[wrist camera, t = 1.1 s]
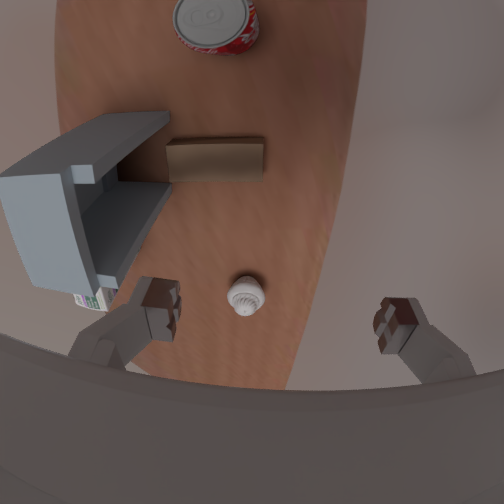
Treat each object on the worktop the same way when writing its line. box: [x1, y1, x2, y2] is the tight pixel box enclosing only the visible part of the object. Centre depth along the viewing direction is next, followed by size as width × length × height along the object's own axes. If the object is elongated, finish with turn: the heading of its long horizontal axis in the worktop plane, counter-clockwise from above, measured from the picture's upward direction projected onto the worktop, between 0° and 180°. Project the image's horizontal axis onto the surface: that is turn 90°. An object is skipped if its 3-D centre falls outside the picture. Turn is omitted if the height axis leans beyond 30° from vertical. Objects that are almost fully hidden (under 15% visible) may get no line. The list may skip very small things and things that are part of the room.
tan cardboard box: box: [165, 137, 263, 182], centre depth 37 cm, size 5×12×4 cm, turn 90°
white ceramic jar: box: [227, 276, 265, 316], centre depth 48 cm, size 6×6×7 cm
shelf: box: [0, 111, 172, 297], centre depth 29 cm, size 12×10×22 cm
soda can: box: [173, 0, 259, 56], centre depth 23 cm, size 7×7×13 cm
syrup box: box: [72, 248, 141, 311], centre depth 40 cm, size 6×6×14 cm
